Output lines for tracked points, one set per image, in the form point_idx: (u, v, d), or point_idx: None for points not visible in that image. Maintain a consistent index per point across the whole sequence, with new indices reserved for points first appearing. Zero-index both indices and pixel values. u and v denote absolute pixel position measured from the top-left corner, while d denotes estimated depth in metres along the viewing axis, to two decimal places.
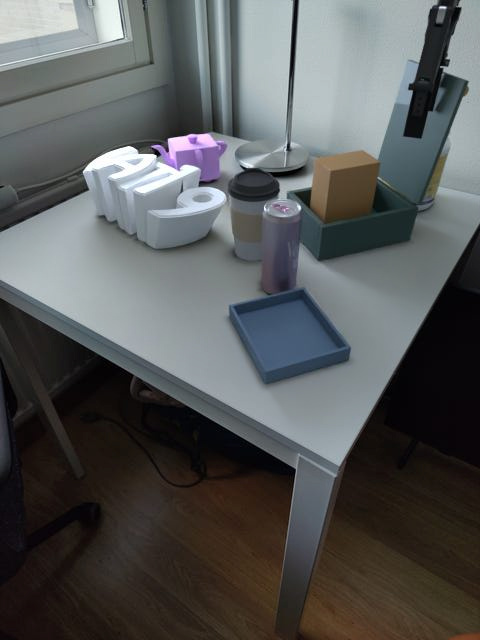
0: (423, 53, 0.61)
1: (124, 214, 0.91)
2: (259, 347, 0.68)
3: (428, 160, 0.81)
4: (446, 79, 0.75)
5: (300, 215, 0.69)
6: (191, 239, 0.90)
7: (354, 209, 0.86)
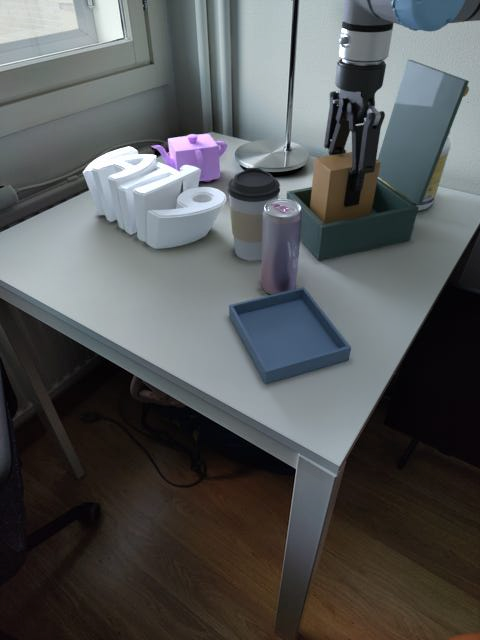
0: (366, 149, 0.75)
1: (124, 215, 0.91)
2: (259, 347, 0.68)
3: (428, 160, 0.81)
4: (446, 79, 0.75)
5: (300, 215, 0.69)
6: (191, 239, 0.90)
7: (354, 209, 0.86)
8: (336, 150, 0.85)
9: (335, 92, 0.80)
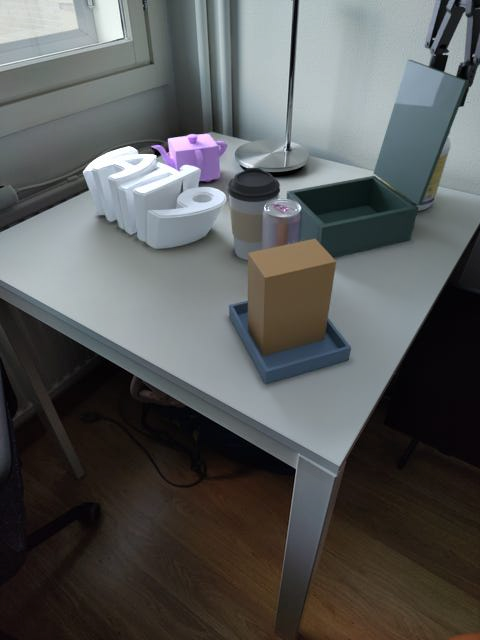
0: None
1: (124, 214, 0.91)
2: None
3: (428, 160, 0.81)
4: (446, 79, 0.75)
5: (300, 215, 0.69)
6: (191, 239, 0.90)
7: (303, 317, 0.64)
8: (439, 48, 0.79)
9: None
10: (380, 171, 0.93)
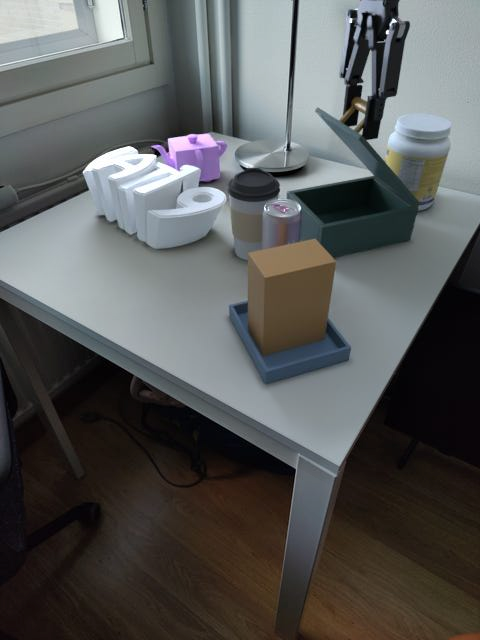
0: (388, 67, 0.67)
1: (124, 215, 0.91)
2: None
3: (393, 181, 0.81)
4: (347, 133, 0.75)
5: (300, 215, 0.69)
6: (191, 239, 0.90)
7: (303, 317, 0.64)
8: (353, 79, 0.77)
9: (353, 10, 0.73)
10: (375, 175, 0.94)
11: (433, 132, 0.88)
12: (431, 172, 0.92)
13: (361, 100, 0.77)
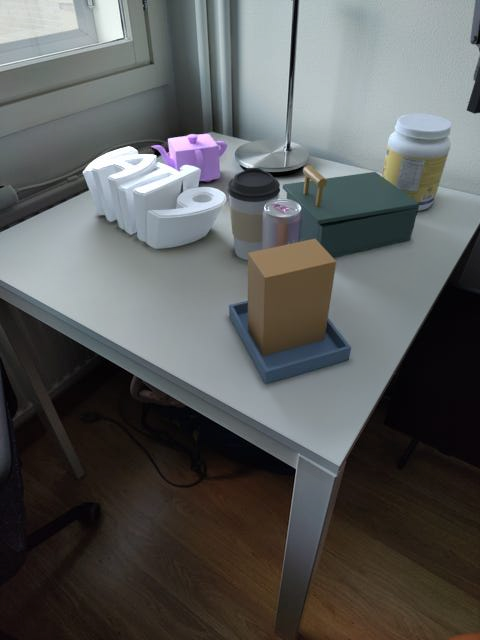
0: None
1: (124, 215, 0.91)
2: None
3: None
4: None
5: (300, 215, 0.69)
6: (191, 239, 0.90)
7: (303, 317, 0.64)
8: None
9: None
10: None
11: (433, 132, 0.88)
12: (431, 172, 0.92)
13: (308, 172, 0.83)
